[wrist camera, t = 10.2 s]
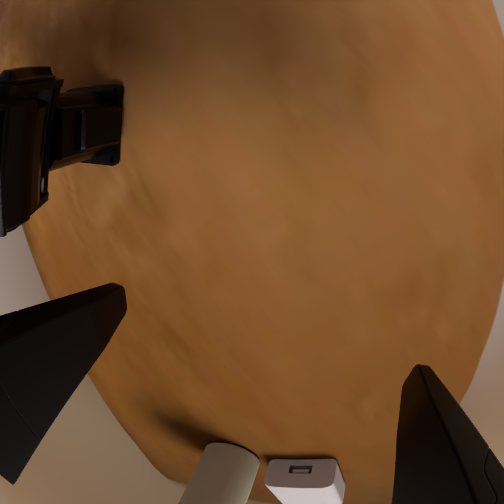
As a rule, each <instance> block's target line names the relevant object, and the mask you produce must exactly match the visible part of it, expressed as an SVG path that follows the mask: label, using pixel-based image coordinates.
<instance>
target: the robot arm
mask: <svg viewBox="0 0 504 504" xmlns="http://www.w3.org/2000/svg"><path fill="white" fill-rule="evenodd" d="M55 77H56V76H53V74H52V71H51V68H50V67H48V66H33V67H20V68H14V69H8V70H4V71H3V72H2V73H1V74H0V237H4V236H6V235H7V232H10V231H12V230H14V229H16V228H17V227H18V226H20V225H22V224H24V223H25V222H27V221H28V220H29V219H30V216H31V215H32V214H33V213H34V212H35V211H36V210H37V209H38V208H40V207H41V206H42V205H43V204H44V203H45V202H46V201H48V196H49V192H48V174H49V171H52V170H55V169H58V168H62V167H65V166H68V165H71V164H75V163H78V162H81V163H91V164H101V165H109V166H114V165H117V164H118V163H119V161H120V135H121V116H122V102H123V86H122V85H120V84H114V85H102V86H93V87H84V88H76V89H70V90H68V91H67V92H65V93H60V88H61V87H62V85H63V81H64V79H59V78H55ZM116 89H118V92H117V93H116ZM113 157H114V161H113ZM126 311H127V303H126V295H125V289H124V287H123V286H122V285H119V284H116V283H109V284H105V285H102V286H99V287H95V288H92V289H88V290H85V291H82V292H78V293H75V294H71V295H68V296H65V297H61V298H58V299H55V300H51V301H48V302H45V303H41V304H38V305H35V306H31V307H28V308H25V309H21V310H19V311H14V312H11V313H8V314H4V315H1V316H0V475H1V476H2V477H4V478H5V479H6V480H7V481H9V482H10V483H11V484H13V485H14V483H15V482H16V481H17V479H18V477H19V476H20V474H21V472H22V471H23V469H24V467H25V466H26V464H27V463H28V461H29V459H30V458H31V456H32V454H33V453H34V451H35V450H36V448H37V446H38V445H39V443H40V441H41V440H42V438H43V437H44V435H45V434H46V432H47V431H48V429H49V428H50V426H51V425H52V423H53V422H54V420H55V418H56V417H57V416H58V414H59V413H60V411H61V410H62V408H63V407H64V405H65V404H66V402H67V401H68V399H69V398H70V397H71V395H72V394H73V392H74V391H75V389H76V388H77V387H78V385H79V384H80V382H81V381H82V380H83V378H84V377H85V375H86V374H87V373H88V371H89V370H90V368H91V367H92V366H93V364H94V363H95V361H96V360H97V359H98V357H99V356H100V355H101V353H102V352H103V350H104V349H105V347H106V346H107V344H108V342H109V341H110V339H111V337H112V336H113V334H114V332H115V331H116V329H117V327H118V325H119V324H120V322H121V320H122V319H123V317H124V316H125V314H126ZM392 504H504V468H503V466H502V465H501V463H500V462H499V460H498V459H497V458H496V456H495V455H494V453H493V452H492V450H491V449H490V448H489V446H488V444H487V443H486V442H485V440H484V439H483V437H482V436H481V435H480V433H479V432H478V430H477V429H476V427H475V426H474V425H473V423H472V422H471V420H470V419H469V418H468V416H467V415H466V414H465V412H464V411H463V409H462V408H461V407H460V405H459V404H458V403H457V401H456V400H455V399H454V397H453V396H452V395H451V393H450V392H449V391H448V389H447V388H446V387H445V386H444V384H443V383H442V382H441V380H440V379H439V378H438V377H437V375H436V374H435V373H434V371H433V370H432V369H431V368H430V367H429V366H427V365H421V364H417V365H416V366H415V367H414V368H413V369H412V371H411V373H410V374H409V376H408V377H407V379H406V380H405V382H404V384H403V387H402V393H401V403H400V412H399V420H398V428H397V441H396V462H395V476H394V488H393V497H392Z"/></svg>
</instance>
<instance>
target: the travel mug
mask: <svg viewBox="0 0 504 504" xmlns="http://www.w3.org/2000/svg"><path fill="white" fill-rule="evenodd" d="M259 464H260V462H259V460H258V458H257V457H256V456H255V455H253V454H252V453H250V452H249V451H247V450H246V449H244V448H241V447H239V446H236V445H232V444H228V443H210V444H208V445H207V446H206V448H205V450H204V452H203V454H202V456H201V458H200V460H199V462H198V464H197V467H196V469H195V471H194V473H193V475H192V477H191V479H190V481H189V483H188V485H187V487H186V489H185V491H184V494H183V496H182V498H181V500H180V502H179V504H246V502H247V500H248V497H249V494H250V491H251V488H252V485H253V482H254V479H255V477H256V474H257V471H258V468H259Z"/></svg>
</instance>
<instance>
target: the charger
mask: <svg viewBox="0 0 504 504" xmlns="http://www.w3.org/2000/svg"><path fill="white" fill-rule="evenodd" d="M263 482H264V484H265V485H266V486H267V487H268V488H269V489H270V490H271V492H272V493H273V494H274V495H275V496H276V497H277V498H278V499H279V500H280V501H281V502H282V504H342V503H343V497H344V491H345V483H344V480H343V477H342V475H341V472H340V469H339V466H338V464H337V461H336V460H335V459H306V460H287V459H273V460H271V461H270V462H269V464H268V467H267V471H266V474H265V477H264V480H263Z"/></svg>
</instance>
